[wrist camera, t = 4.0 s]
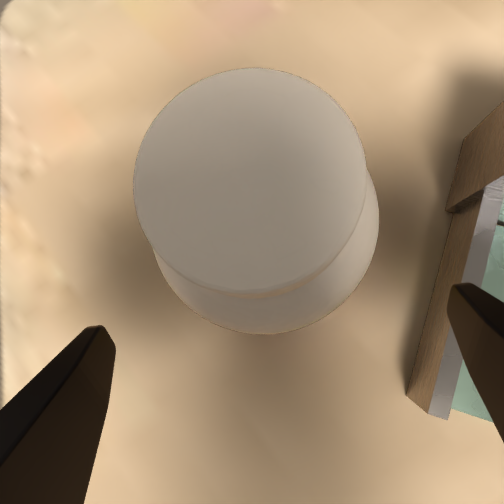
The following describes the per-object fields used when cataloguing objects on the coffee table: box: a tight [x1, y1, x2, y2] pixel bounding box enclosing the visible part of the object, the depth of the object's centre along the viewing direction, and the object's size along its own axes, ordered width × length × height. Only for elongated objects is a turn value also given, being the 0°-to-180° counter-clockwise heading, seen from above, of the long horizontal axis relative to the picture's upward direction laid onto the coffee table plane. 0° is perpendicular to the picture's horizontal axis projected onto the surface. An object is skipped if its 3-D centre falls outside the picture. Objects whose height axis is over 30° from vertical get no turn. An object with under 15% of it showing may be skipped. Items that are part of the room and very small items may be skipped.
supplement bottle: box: [133, 68, 379, 334], centre depth 14 cm, size 7×7×13 cm
